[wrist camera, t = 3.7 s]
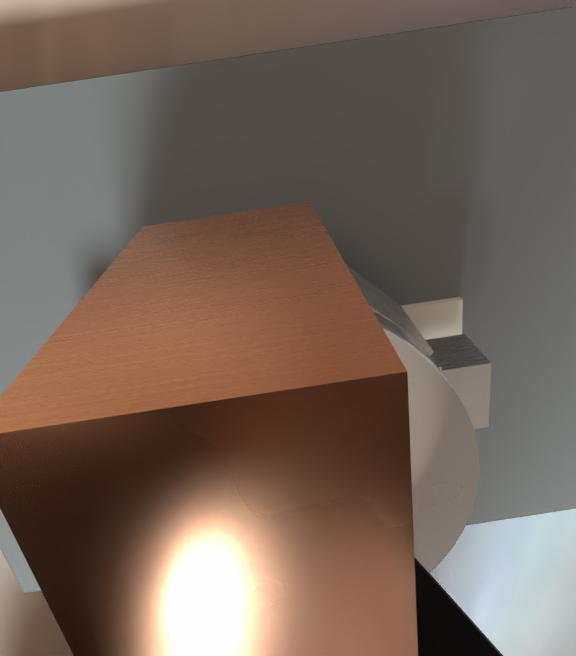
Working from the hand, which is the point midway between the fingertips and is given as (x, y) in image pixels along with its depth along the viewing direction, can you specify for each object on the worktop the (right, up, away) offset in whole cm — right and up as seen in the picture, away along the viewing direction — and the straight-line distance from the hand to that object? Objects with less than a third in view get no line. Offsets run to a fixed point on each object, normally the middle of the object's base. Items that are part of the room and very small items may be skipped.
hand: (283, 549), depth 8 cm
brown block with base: (0, +2, +4) cm, 5 cm away
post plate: (0, +3, +7) cm, 7 cm away
